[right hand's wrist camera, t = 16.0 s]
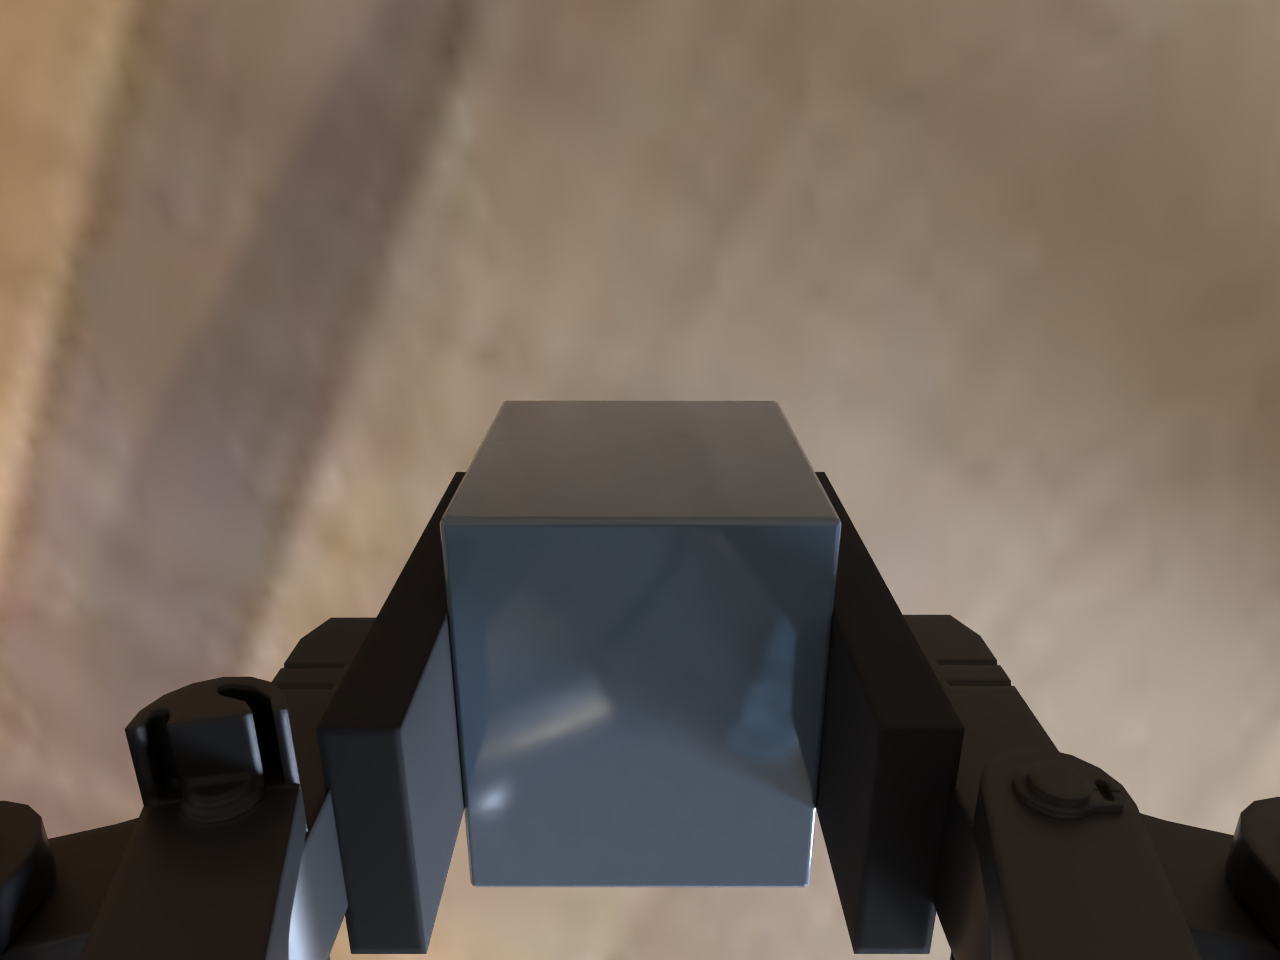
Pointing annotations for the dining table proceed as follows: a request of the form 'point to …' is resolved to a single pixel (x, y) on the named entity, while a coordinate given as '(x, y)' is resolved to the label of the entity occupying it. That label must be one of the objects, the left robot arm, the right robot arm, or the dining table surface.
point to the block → (640, 644)
